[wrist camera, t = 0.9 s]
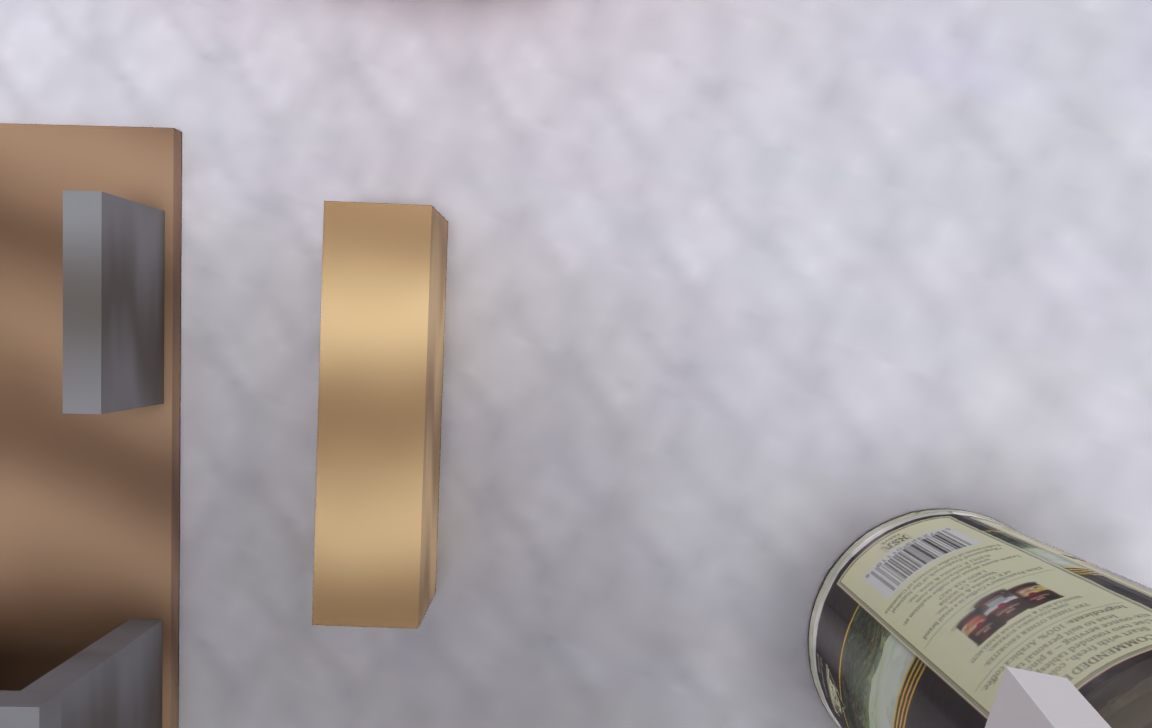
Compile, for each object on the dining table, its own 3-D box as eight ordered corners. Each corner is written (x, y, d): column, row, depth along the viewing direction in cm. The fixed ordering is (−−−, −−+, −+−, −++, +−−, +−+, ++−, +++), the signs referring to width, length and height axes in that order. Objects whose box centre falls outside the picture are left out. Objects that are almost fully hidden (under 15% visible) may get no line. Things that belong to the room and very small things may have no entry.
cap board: (177, 770, 30) (49, 914, 23) (-36, 767, 30) (-236, 911, 23) (181, 132, 30) (50, 61, 22) (-38, 126, 30) (-247, 53, 22)
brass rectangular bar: (436, 590, 31) (417, 628, 27) (344, 587, 31) (312, 624, 27) (449, 222, 30) (431, 205, 26) (355, 218, 30) (324, 200, 26)
